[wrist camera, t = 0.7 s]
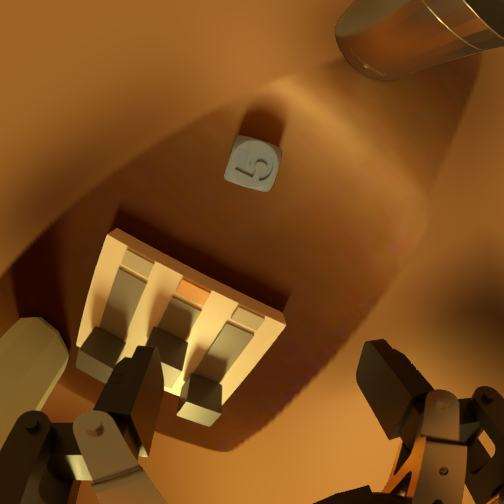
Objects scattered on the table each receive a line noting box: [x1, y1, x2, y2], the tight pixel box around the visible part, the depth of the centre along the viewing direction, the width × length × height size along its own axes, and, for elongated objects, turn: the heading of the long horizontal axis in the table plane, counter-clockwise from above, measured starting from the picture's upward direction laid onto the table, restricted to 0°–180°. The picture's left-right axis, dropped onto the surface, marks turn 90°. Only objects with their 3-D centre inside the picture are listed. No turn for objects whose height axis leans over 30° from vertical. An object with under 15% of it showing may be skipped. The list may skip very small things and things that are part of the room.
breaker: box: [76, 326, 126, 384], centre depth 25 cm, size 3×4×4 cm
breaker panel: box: [76, 228, 286, 405], centre depth 29 cm, size 16×20×3 cm
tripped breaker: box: [145, 326, 188, 389], centre depth 26 cm, size 3×4×4 cm
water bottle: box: [0, 317, 69, 450], centre depth 19 cm, size 10×10×25 cm
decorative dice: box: [224, 135, 282, 192], centre depth 23 cm, size 4×4×4 cm
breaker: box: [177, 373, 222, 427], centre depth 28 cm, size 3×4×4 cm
